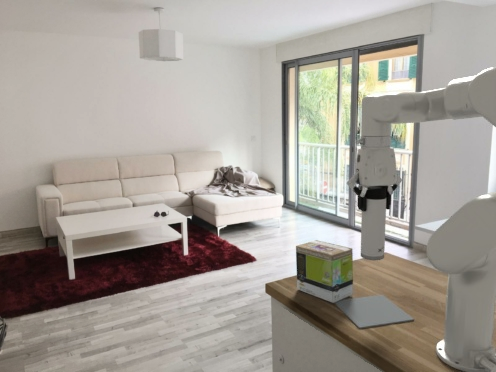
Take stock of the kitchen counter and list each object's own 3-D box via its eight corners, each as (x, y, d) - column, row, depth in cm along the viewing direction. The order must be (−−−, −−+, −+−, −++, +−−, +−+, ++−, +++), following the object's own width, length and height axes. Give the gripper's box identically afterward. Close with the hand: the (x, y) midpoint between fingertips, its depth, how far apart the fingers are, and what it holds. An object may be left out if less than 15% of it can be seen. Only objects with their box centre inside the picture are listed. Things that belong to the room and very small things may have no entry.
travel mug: (386, 261, 111) (389, 187, 107) (361, 260, 112) (363, 187, 109) (384, 253, 117) (386, 183, 113) (359, 252, 118) (361, 183, 115)
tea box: (354, 294, 127) (353, 247, 125) (332, 304, 121) (331, 255, 118) (317, 281, 138) (316, 238, 136) (295, 289, 132) (294, 245, 130)
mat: (414, 320, 111) (414, 319, 111) (359, 328, 108) (359, 327, 107) (382, 295, 126) (382, 294, 126) (333, 302, 123) (333, 301, 123)
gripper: (352, 145, 103) (351, 215, 106) (413, 142, 107) (410, 209, 110) (338, 143, 111) (338, 208, 114) (396, 140, 114) (394, 204, 117)
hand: (374, 208), depth 112 cm, fingers closed on travel mug, 6 cm apart
